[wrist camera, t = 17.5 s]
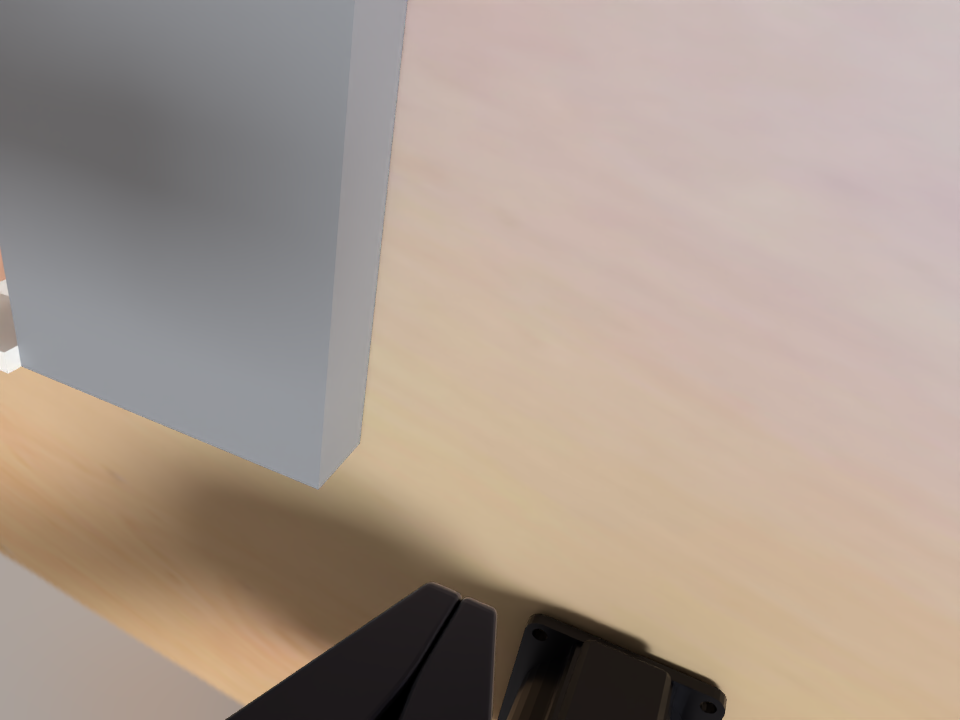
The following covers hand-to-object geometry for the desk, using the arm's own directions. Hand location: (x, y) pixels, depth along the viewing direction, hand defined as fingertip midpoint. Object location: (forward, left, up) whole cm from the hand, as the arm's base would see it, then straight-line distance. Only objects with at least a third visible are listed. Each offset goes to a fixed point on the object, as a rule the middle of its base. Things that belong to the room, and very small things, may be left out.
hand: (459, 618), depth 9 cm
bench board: (0, +12, -12) cm, 17 cm away
